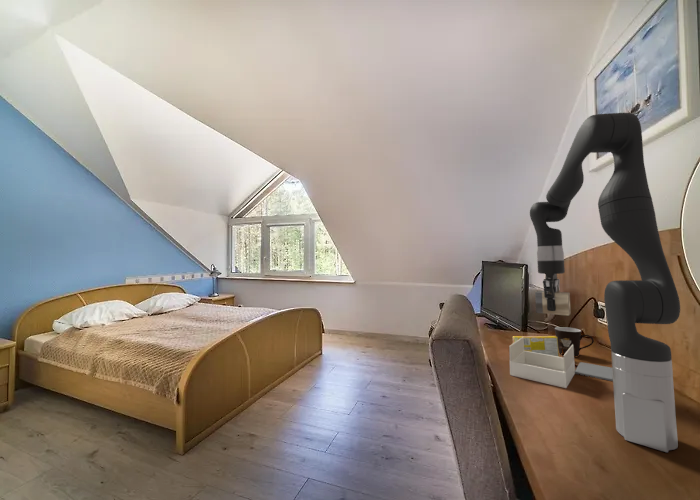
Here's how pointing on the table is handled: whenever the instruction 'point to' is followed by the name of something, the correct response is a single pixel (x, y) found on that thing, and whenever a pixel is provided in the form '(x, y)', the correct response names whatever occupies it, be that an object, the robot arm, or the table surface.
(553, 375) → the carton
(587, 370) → the rubber mat
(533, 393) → the table surface
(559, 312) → the birch block
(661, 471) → the table surface
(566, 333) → the coffee mug
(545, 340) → the candy box
